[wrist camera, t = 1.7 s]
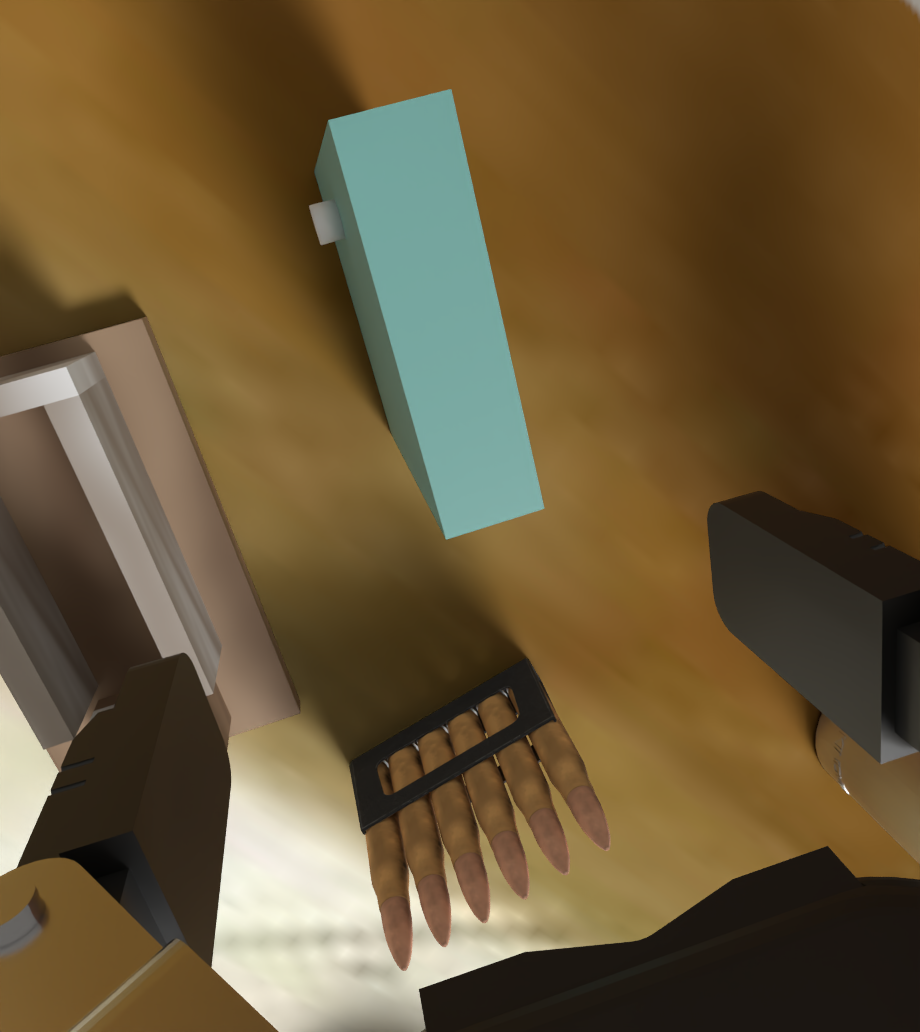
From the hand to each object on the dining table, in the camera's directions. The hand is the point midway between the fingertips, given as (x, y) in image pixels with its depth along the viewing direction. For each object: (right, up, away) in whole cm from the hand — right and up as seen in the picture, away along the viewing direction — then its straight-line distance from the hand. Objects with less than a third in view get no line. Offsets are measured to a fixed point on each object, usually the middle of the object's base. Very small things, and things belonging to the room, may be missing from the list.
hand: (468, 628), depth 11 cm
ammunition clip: (-1, -9, +28) cm, 29 cm away
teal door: (-3, +11, +20) cm, 23 cm away
